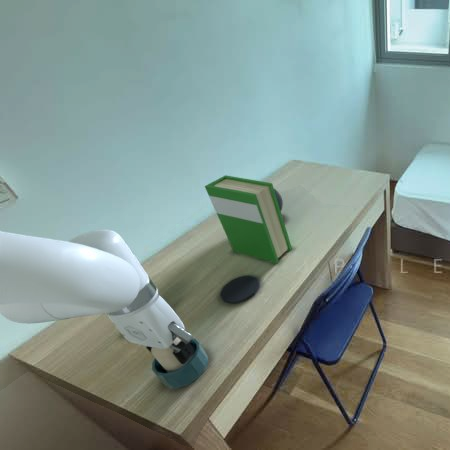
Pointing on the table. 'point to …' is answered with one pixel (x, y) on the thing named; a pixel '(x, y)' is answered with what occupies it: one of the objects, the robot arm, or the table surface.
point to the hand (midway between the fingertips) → (175, 354)
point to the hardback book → (250, 217)
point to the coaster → (240, 289)
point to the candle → (168, 358)
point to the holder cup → (183, 368)
